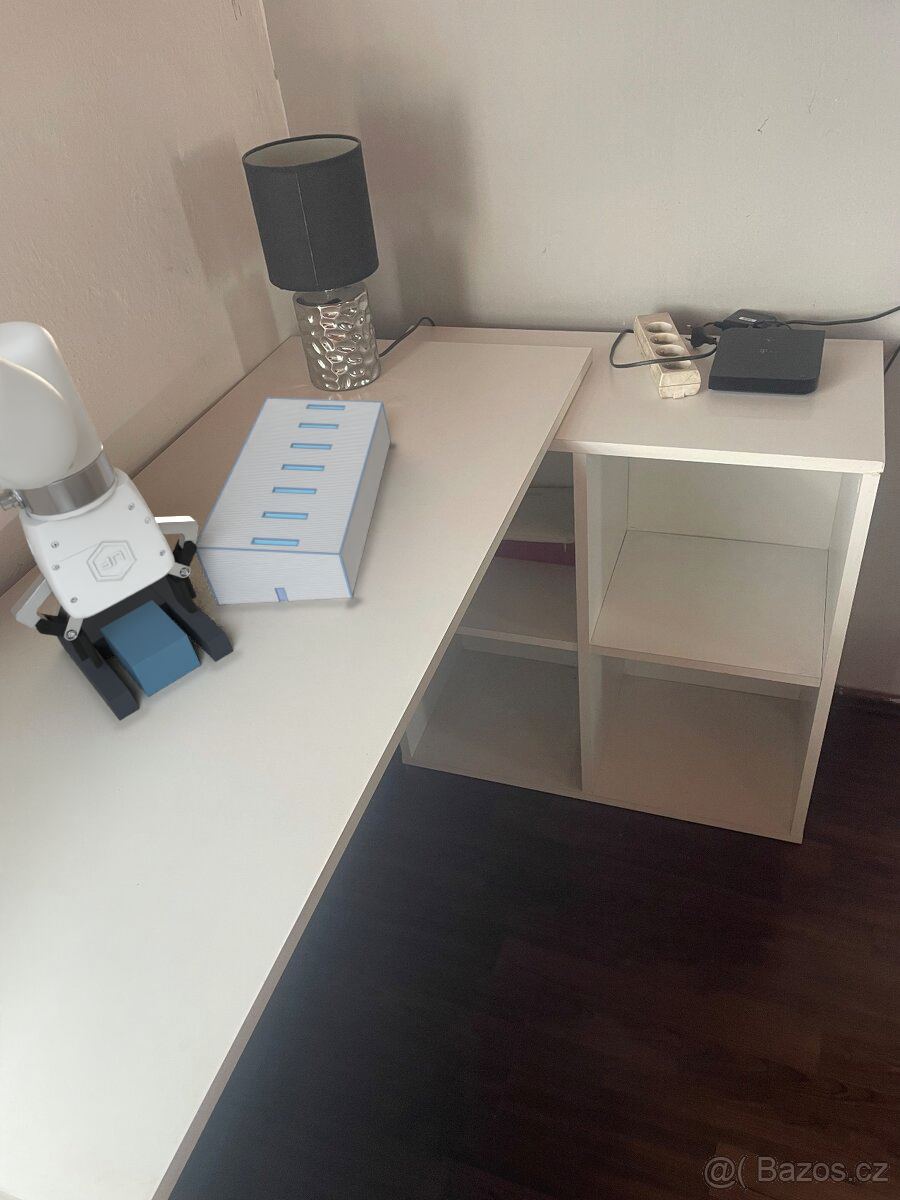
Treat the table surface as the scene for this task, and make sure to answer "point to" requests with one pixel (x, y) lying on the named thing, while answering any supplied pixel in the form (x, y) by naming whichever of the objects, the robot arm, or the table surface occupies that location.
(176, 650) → the blue rectangular block
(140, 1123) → the table surface
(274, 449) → the warehouse
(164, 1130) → the table surface
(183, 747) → the table surface
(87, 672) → the dark grey u-frame
